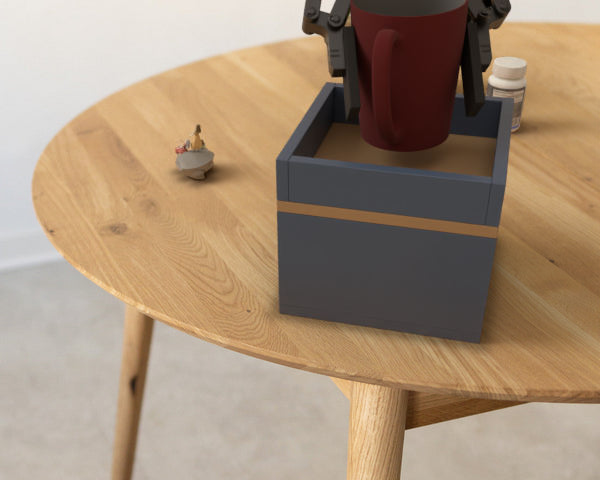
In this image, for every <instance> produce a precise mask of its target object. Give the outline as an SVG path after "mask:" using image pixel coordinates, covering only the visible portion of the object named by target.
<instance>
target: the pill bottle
mask: <svg viewBox="0 0 600 480" xmlns="http://www.w3.org/2000/svg"><path fill="white" fill-rule="evenodd" d="M527 68H528V62H527V61H526V60H525V59H523V58H520V57H516V56H507V55H506V56H499V57H496V58H494V60H493V63H492V67H491V70H492V71H491V73H492V74H490V75H489V77H488V78H487V83H486V92H485V96H493V97H502V98H503V97H506V98H514V107H513V117H512V128H511V133H515V132H517V130H519V129H520V127H521V122H522V116H523V110H524V105H525V99H526V92H527V86H528V80H527V78H526V74H527Z"/></svg>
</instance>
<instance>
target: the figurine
mask: <svg viewBox="0 0 600 480" xmlns="http://www.w3.org/2000/svg"><path fill="white" fill-rule="evenodd" d="M200 134H202V126H201V124H199V123H197V124H196V125H195V129H194V131H193V132H191V133H190V134H189V137H188V138H186V139H184V140H185V141H182V140H181V139H179V140H176V143H177V142H178V146H176V147H175V148H174V153H175V154H176V155H175V165H176V167H177V168H178V170H179V171H180V172H181V173H183V174H184V175H185V176H186V177H189V178H192V179H195V180H199V181H202V180H204V179H205V173H206V172H208V171H209V170H210V169H211V168H212V167H213V166H214V158H215V153H214V151H211V150H209V148H207V145H206V142H205V141H204V139H201V137H200ZM191 137H193V138H192V141H191V140H190V139H191ZM181 142H182V145H181ZM190 148H191V149H190Z"/></svg>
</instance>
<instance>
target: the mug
mask: <svg viewBox="0 0 600 480" xmlns="http://www.w3.org/2000/svg"><path fill="white" fill-rule="evenodd" d="M350 12H351V26H354V34H355V45H356V57H357V69H358V80H359V92H360V104H361V108H360V111H359V121H360V130H361V136H362V138H363V140H364V141H365V142H367V143H368V144H370V145H372V146H374V147H376V148H379V149H383V150H388V151H395V152H415V151H422V150H427V149H430V148H433V147H436V146H438V145H440V144H442V143H443V142H444V141H446V140H447V138H448V136H449V132H450V127H451V121H452V114H453V108H454V102H455V96H456V93H457V89H458V83H459V78H460V72H461V67H460V64H461V57H462V51H463V44H464V37H465V29H466V21H467V12H468V0H350Z"/></svg>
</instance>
